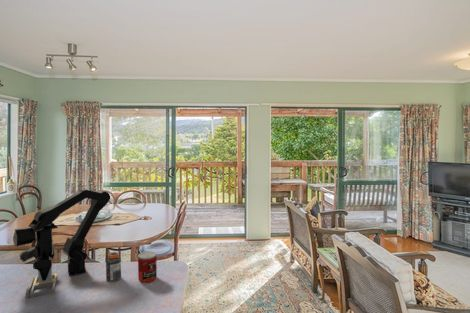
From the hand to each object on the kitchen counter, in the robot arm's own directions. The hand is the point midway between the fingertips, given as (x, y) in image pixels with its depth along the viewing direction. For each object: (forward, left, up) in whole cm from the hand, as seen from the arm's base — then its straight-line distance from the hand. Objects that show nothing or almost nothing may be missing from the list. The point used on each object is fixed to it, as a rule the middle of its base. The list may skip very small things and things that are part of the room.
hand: (45, 276), depth 123 cm
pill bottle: (-26, +11, -2) cm, 28 cm away
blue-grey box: (0, 0, -2) cm, 2 cm away
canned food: (-39, +18, -2) cm, 43 cm away
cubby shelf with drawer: (0, +4, -2) cm, 5 cm away
